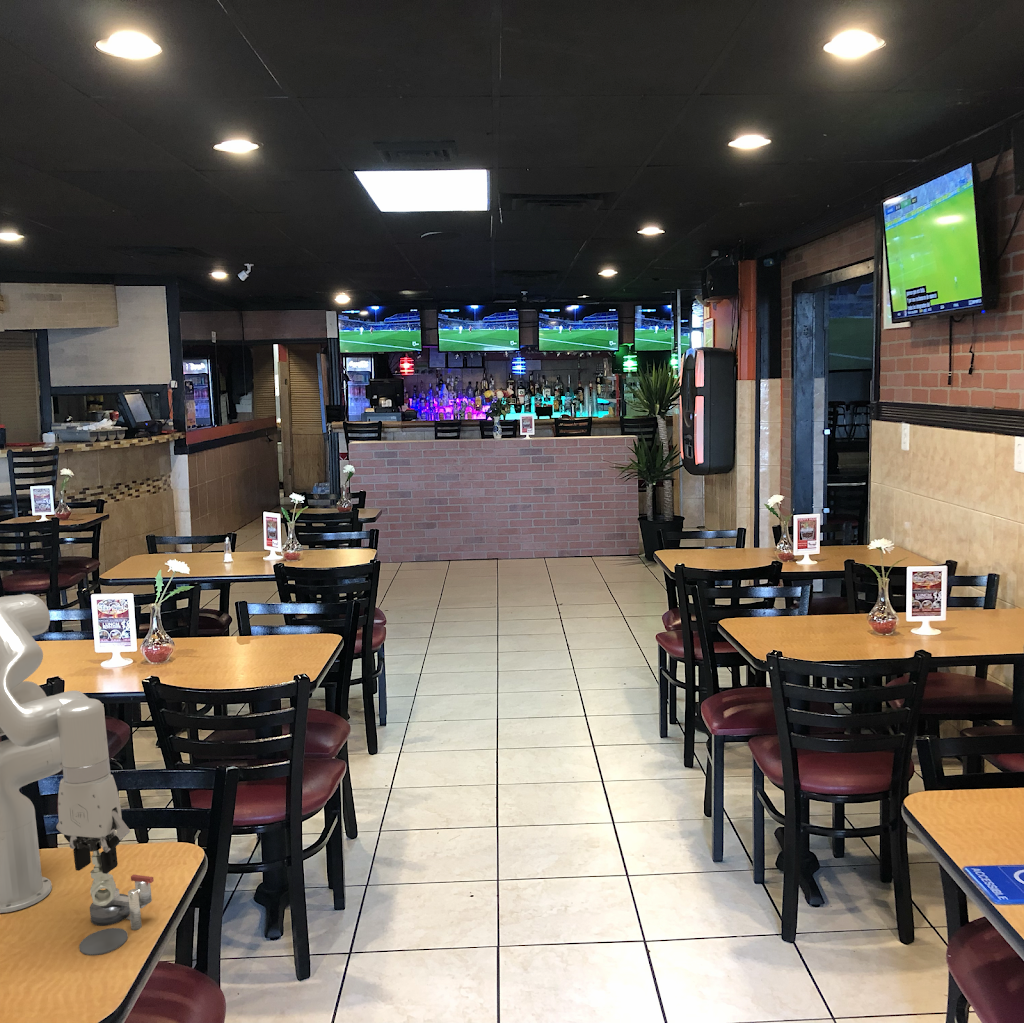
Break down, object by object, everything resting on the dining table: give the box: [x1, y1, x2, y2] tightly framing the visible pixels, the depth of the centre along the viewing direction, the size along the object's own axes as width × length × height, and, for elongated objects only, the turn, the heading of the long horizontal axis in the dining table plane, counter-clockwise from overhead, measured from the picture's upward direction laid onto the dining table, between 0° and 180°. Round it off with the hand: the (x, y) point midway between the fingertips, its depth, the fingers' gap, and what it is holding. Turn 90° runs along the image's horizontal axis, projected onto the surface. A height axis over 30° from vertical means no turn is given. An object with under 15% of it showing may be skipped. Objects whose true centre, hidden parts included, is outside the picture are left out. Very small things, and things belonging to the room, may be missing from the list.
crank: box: [102, 874, 154, 909], centre depth 174 cm, size 12×4×6 cm, turn 72°
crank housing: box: [89, 888, 142, 931], centre depth 175 cm, size 12×7×7 cm, turn 74°
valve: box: [73, 834, 117, 906], centre depth 165 cm, size 7×7×12 cm
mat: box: [78, 927, 129, 956], centre depth 167 cm, size 8×8×1 cm
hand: (96, 867), depth 166 cm, fingers closed on valve, 5 cm apart
